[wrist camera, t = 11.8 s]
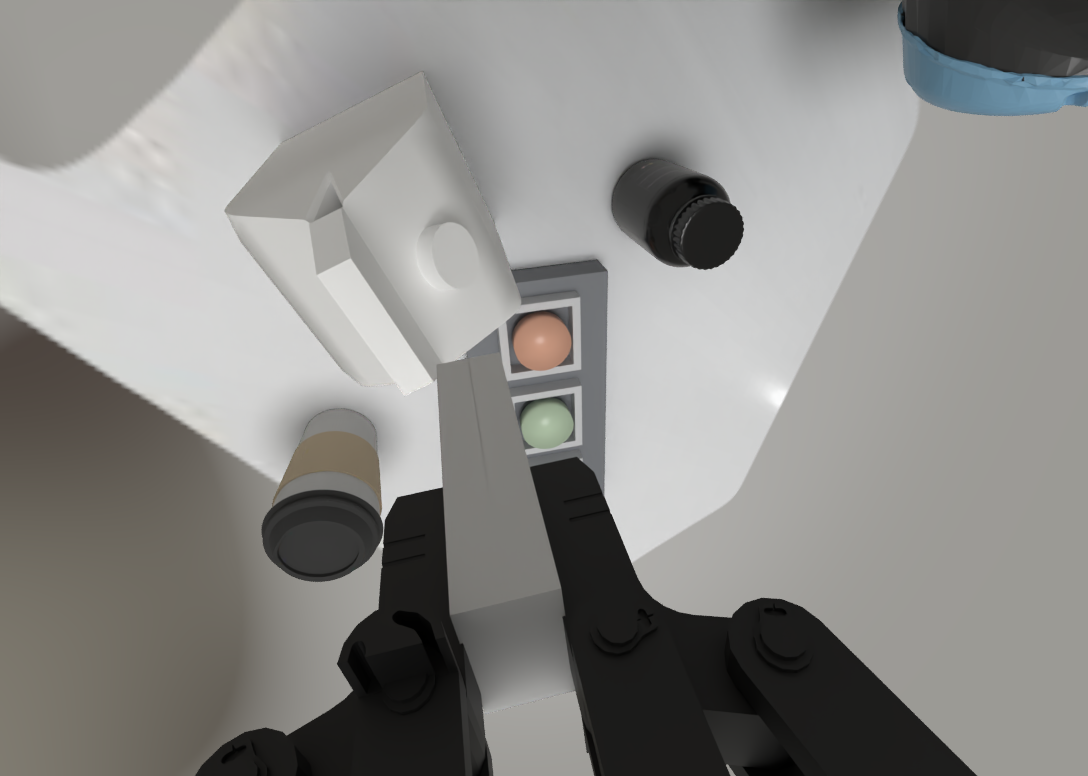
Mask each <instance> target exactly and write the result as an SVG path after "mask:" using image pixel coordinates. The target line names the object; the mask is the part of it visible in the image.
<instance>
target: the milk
mask: <svg viewBox="0 0 1088 776" xmlns="http://www.w3.org/2000/svg"><path fill="white" fill-rule="evenodd" d="M225 213H226V215H227V217H228V218H229V220H230V222H231V224H232V226H233V228H234V230H235V232H236V234H237V236H238V238H239V240H240V242H241V243H242V244H243V245H244V247H245V248H246V249H247V251H248V252H249V253H250V254H251V256H252V257H253V258H254V259H255V261H256V262H257V263H258V264H259V266H260V267H261V268H262V270H263V271H264V272H265V273H266V275H267V276H268V277H269V278H270V280H271V281H272V282H273V283H274V285H275V286H276V287H277V289H278V290H279V291H280V292H281V294H282V295H283V296H284V297H285V299H286V300H287V301H288V302H289V304H290V305H291V306H292V307H293V309H294V310H295V311H296V313H297V314H298V315H299V316H300V318H301V319H302V320H303V321H304V323H305V324H306V325H307V326H308V328H309V329H310V330H311V332H312V333H313V334H314V335H315V337H316V338H317V339H318V340H319V342H320V343H321V344H322V345H323V347H324V348H325V349H326V351H327V352H328V353H329V354H330V356H331V357H332V358H333V359H334V361H335V362H336V363H337V364H338V366H339V367H340V368H341V370H342V371H344V372H345V373H346V374H347V375H349V376H350V377H351V378H352V379H353V380H355V381H356V382H357V383H358V384H360V385H361V386H365V387H372V386H381V385H389V384H396V385H397V386H398V388H399V389H400V391H401V392H402V393H403V395H404V396H406V395H408V394H410V393H412V392H414V391H416V390H418V389H420V388H422V387H425V386H427V385H429V384H431V383H433V382H434V381H435V380H436V379H437V367H436V365H437V364H442V363H447V362H452V361H456V360H457V359H458V358H460V357H461V356H462V355H463V354H465V353H466V352H467V351H469V350H470V349H471V348H472V347H474V346H475V345H476V344H478V343H479V342H480V341H481V340H483V339H484V338H485V337H487V336H488V335H489V334H491V333H492V332H493V331H494V330H496V329H497V328H498V327H500V326H501V325H502V324H503V323H505V322H506V321H507V320H508V319H509V318H511V317H512V316H513V315H514V314H515V313H516V311H517V310H518V309H519V307H520V305H521V297H520V294H519V291H518V288H517V285H516V283H515V280H514V277H513V274H512V271H511V268H510V266H509V263H508V260H507V257H506V254H505V252H504V249H503V246H502V243H501V240H500V237H499V235H498V232H497V229H496V226H495V223H494V221H493V219H492V217H491V215H490V213H489V211H488V209H487V206H486V204H485V202H484V200H483V198H482V196H481V194H480V192H479V190H478V187H477V185H476V183H475V181H474V179H473V177H472V175H471V173H470V170H469V168H468V166H467V164H466V162H465V160H464V158H463V156H462V154H461V151H460V149H459V147H458V145H457V143H456V141H455V139H454V137H453V134H452V132H451V130H450V128H449V126H448V124H447V122H446V120H445V118H444V115H443V113H442V111H441V109H440V107H439V105H438V103H437V101H436V98H435V96H434V94H433V92H432V90H431V88H430V86H429V84H428V82H427V79H426V77H425V75H424V73H423V71H421V72H419V73H417V74H415V75H413V76H411V77H409V78H408V79H406V80H404V81H402V82H400V83H398V84H396V85H394V86H392V87H390V88H388V89H386V90H384V91H382V92H380V93H378V94H376V95H374V96H372V97H370V98H368V99H366V100H364V101H362V102H361V103H359V104H357V105H355V106H353V107H351V108H349V109H347V110H345V111H343V112H341V113H339V114H337V115H335V116H333V117H331V118H329V119H327V120H325V121H323V122H321V123H319V124H317V125H316V126H314V127H312V128H310V129H308V130H306V131H304V132H302V133H300V134H298V135H296V136H294V137H292V138H290V139H288V140H286V141H284V142H282V143H281V144H280V145H279V146H278V147H277V148H276V150H275V151H274V152H273V153H272V154H271V155H270V157H269V158H268V159H267V160H266V161H265V162H264V164H263V165H262V166H261V167H260V168H259V169H258V171H257V172H256V173H255V174H254V175H253V176H252V178H251V179H250V180H249V181H248V182H247V183H246V184H245V186H244V187H243V188H242V189H241V190H240V191H239V193H238V194H237V195H236V196H235V197H234V198H233V200H232V201H231V202H230V203H229V204H228V205H227V207H226V209H225Z"/></svg>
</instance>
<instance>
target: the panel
mask: <svg viewBox="0 0 1088 776" xmlns="http://www.w3.org/2000/svg"><path fill="white" fill-rule="evenodd" d="M512 274H513V277H514V280H515V283H516V285H517V288H518V291H519V294H520V297H521V305H520V307H519V309H518V310H517V311H516V313H515V314H514V315H513V316H512V317H511V318H509V319H508V320H507V321H506V322H505V323H503V324H502V325H501V326H500V327H498V328H497V329H496V330H494V331H493V332H492V333H491V334H489V335H488V336H487V337H485V338H484V339H483V340H481V341H480V342H479V343H478V344H476V345H475V346H474V347H472V348H471V349H470V350H469V351H467V359H468V358H473V357H478V356H483V355H488V354H493V353H499V352H500V356H501V360H502V364H503V367H504V371H505V375H506V379H507V383H508V387H509V390H510V394H511V398H512V402H513V406H514V409H515V413H516V417H517V421H518V425H519V429H520V432H521V436H522V440H523V444H524V448H525V452H526V455H527V459H528V463H529V467H531V466H536V465H540V464H545V463H550V462H554V461H559V460H563V459H568V458H573V457H578V458H579V459H580V460H581V461H582V462H583V463H585V464H586V465H587V466H588V467H589V468H590V469H591V470H592V471H594V473H595V475H596V478H597V480H598V483H599V485H600V488H601V490H602V493H603V497H604V475H605V413H606V351H607V288H608V271H607V270H606V269H605V268H604V266H603V265H602V264H601V263H600V262H599V261H598V260H592V261H584V262H576V263H568V264H560V265H552V266H544V267H537V268H529V269H521V270H513V271H512ZM540 311H545V312H550V313H553V314H555V315H557V316H558V317H559V318H560V319H561V320H562V321H563V322H564V324H565V326H566V328H567V329H568V331H569V333H570V336H571V349H570V352H569V354H568V356H567V357H566V358H565V360H564V361H563V362H562V363H560V364H559V365H558V366H556V367H554V368H552V369H549V370H544V371H536V370H531V369H529V368H527V367H525V366H524V365H522V364H521V363H520V362H519V360H518V358H517V357H516V354H515V351H514V348H513V345H512V334H513V330H514V328H515V326H516V325H517V323H518V322H519V321H520V320H521V319H522V318H524V317H525V316H527V315H529V314H531V313H534V312H540ZM548 397H551V398H556V399H559V400H561V401H562V402H564V403H565V404H566V406H567V407H568V410H569V412H570V414H571V416H572V419H573V423H574V425H573V431H572V433H571V435H570V436H569V438H568V439H567V440H566V441H565V442H563V443H562V444H560V445H559V446H556V447H554V448H550V449H539V448H535V447H533V446H531V445H529V444H528V443H527V442H526V441H525V439H524V437H523V434H522V430H521V427H520V416H521V413H522V411H523V410H524V409H525V407H526V406H527V405H529V404H530V403H531V402H533V401H535V400H537V399H542V398H548Z"/></svg>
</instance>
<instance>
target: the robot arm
mask: <svg viewBox="0 0 1088 776" xmlns="http://www.w3.org/2000/svg"><path fill="white" fill-rule="evenodd" d="M898 25H899V28H900V30H901V33H902V40H903V68H904V75H905V78H906V81H907V83H908V84H909V85H910V86H911V87H912V89H913V90H914V91H915V93H916V94H917V95H918V96H919V97H920V98H921V99H923V100H925V101H926V102H928V103H930V104H932V105H934V106H937V107H940V108H943V109H947V110H950V111H955V112H961V113H969V114H977V115H990V116H992V115H994V116H1019V115H1033V114H1044V113H1051V112H1056V111H1058V110H1059V109H1060V108H1061V107H1062V106H1064V105H1075V106H1083V107H1086V106H1088V0H902V2H901V4H900V5H899V7H898ZM436 367H437V386H438V405H439V423H440V442H441V461H442V479H443V488H438V489H433V490H429V491H424V492H420V493H415V494H411V495H406V496H401V497H397V499H396V501H395V503H394V504H393V506H392V508H391V510H390V512H389V514H388V515H387V517H386V519H385V527H384V540H383V544H384V548H383V554H382V555H383V556H382V566H383V568H382V569H381V582H380V596H379V610H377V611H374V612H373V613H372V614H371V615H370V616H368V617H367V618H365V619H364V620H363V621H362V622H360V623H359V624H358V625H357V626H356V627H355V629H354V630H353V631H352V633H351V634H350V636H349V637H348V639H347V640H346V641H345V642H344V645H343V647H342V651H341V654H340V657H339V660H338V663H337V665H338V666H339V668H340V669H341V671H342V673H343V674H344V676H345V678H346V679H347V681H348V682H349V684H350V686H351V687H352V689H353V691H352V692H351V693H350V694H349V695H348V696H347V698H345V699H344V700H343V701H342V702H340V703H339V704H337V705H336V706H335V707H333V708H332V709H331V710H329V711H327V712H326V713H324V714H322V715H321V716H319V717H318V718H316V719H314V720H312V721H311V722H309V723H307V724H306V725H304V726H302V727H301V728H299V729H297V730H295V731H294V732H292V733H291V734H289V735H287V736H286V735H285V734H284V733H283V732H281V731H277V730H273V729H269V728H262V729H257V730H253V731H248V732H244V733H243V734H241V735H239V736H237V737H236V738H234V739H232V740H231V741H229V742H227V743H225V744H224V745H222V747H220V748H219V749H218V750H217V751H216V752H215V753H214V754H213V755H212V756H211V757H210V758H209V759H208V760H207V761H206V762H205V763H204V764H203V765H202V766H201V768H200V769H199V771H198V772H197V774H196V776H493V768H492V759H491V754H490V751H489V748H488V744H487V741H486V738H485V730H484V719H483V710H482V706H483V709H484V712H485V714H489V713H493V712H496V711H500V710H504V709H508V708H511V707H515V706H519V705H523V704H526V703H530V702H534V701H537V700H542V699H545V698H549V697H553V696H556V695H560V694H564V693H568V692H572V691H576V695H577V699H578V703H579V707H580V711H581V715H582V722H583V729H584V736H585V743H586V750H587V753H589V755H590V759H591V763H592V768H593V772H594V776H730V774H729V771H728V769H727V767H726V764H728V765H729V766H730V768H731V769H732V771H733V772H734V774H735V775H736V776H977V775H976V774H975V773H974V772H973V771H972V770H971V769H970V768H969V767H968V766H967V765H966V764H965V763H964V762H963V761H961V759H960V758H959V757H957V756H956V755H955V754H954V753H953V752H952V751H951V750H950V749H949V748H948V747H947V746H946V745H945V744H944V743H943V742H942V741H941V740H940V739H939V738H938V737H937V736H936V735H935V734H934V733H933V732H932V731H931V730H930V729H929V728H928V727H927V726H926V725H925V724H924V723H923V722H922V721H921V720H920V719H919V718H918V717H917V716H916V715H915V714H914V713H913V712H912V711H911V710H910V709H909V708H908V707H907V706H906V705H905V704H904V703H903V702H902V701H901V700H900V699H899V698H898V697H897V696H896V695H895V694H894V693H893V692H892V691H891V690H890V689H888V687H887V686H886V685H885V684H883V682H882V681H881V680H880V679H879V678H878V677H877V676H876V675H875V674H874V673H872V671H871V670H870V669H869V668H868V667H866V666H865V665H864V664H863V663H862V662H861V661H860V660H859V659H858V658H857V657H856V656H855V655H854V654H853V653H852V652H851V651H850V650H849V649H848V648H847V647H846V646H845V645H844V644H843V643H842V642H841V641H840V640H839V639H838V638H837V637H836V636H835V635H834V634H833V633H832V632H831V631H830V630H829V629H828V628H827V627H826V626H825V625H824V624H823V623H822V622H821V621H820V620H819V619H817V618H816V617H815V616H813V615H812V614H811V613H809V612H808V611H807V610H805V609H804V608H803V607H800V606H798V605H795V604H793V603H790V602H787V601H785V600H782V599H771V598H760V599H757V600H753V601H750V602H747V603H745V604H743V605H742V606H741V607H740V608H739V609H738V610H737V611H736V612H735V613H734V614H733V616H732V618H727V617H714V616H701V615H700V616H699V615H691V614H686V613H680V612H677V611H675V610H672V609H670V608H667V607H665V606H663V605H662V604H660V603H659V602H657V601H656V600H654V599H653V598H652V597H651V596H650V595H649V594H648V593H647V592H646V591H645V590H644V588H643V587H642V585H641V583H640V581H639V580H638V578H637V575H636V573H635V570H634V568H633V566H632V563H631V561H630V558H629V556H628V553H627V551H626V548H625V546H624V544H623V541H622V539H621V536H620V534H619V531H618V529H617V527H616V524H615V522H614V519H613V517H612V514H610V510H609V507H608V505H607V502H606V500H605V497H603V493H602V490H601V488H600V485H599V483H598V480H597V478H596V475H595V473H594V471H592V470H591V469H590V468H589V467H588V466H587V465H586V464H585V463H583V462H582V461H581V460H580V459H579V458H578V457H573V458H568V459H563V460H559V461H554V462H550V463H545V464H540V465H536V466H531V467H529V463H528V459H527V455H526V452H525V448H524V444H523V440H522V436H521V432H520V429H519V425H518V421H517V417H516V413H515V409H514V406H513V402H512V398H511V394H510V390H509V387H508V383H507V379H506V375H505V371H504V367H503V364H502V360H501V356H500V352H499V353H493V354H488V355H483V356H478V357H473V358H468V359H463V360H457V361H452V362H447V363H442V364H437V365H436Z"/></svg>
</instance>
